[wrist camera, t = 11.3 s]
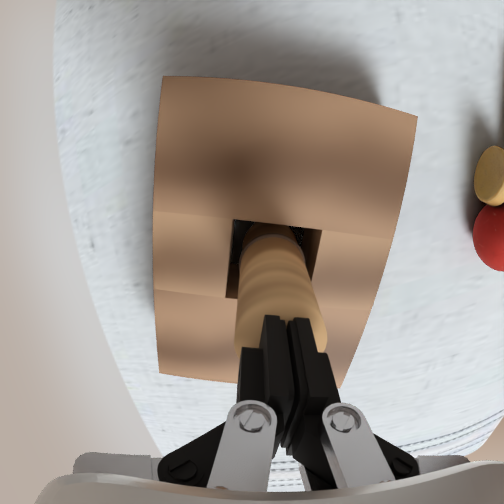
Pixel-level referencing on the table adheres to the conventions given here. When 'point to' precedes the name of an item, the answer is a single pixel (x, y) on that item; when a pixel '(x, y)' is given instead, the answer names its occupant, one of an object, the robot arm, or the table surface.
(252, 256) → the oak peg
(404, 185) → the seat board
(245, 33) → the table surface
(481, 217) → the kendama
